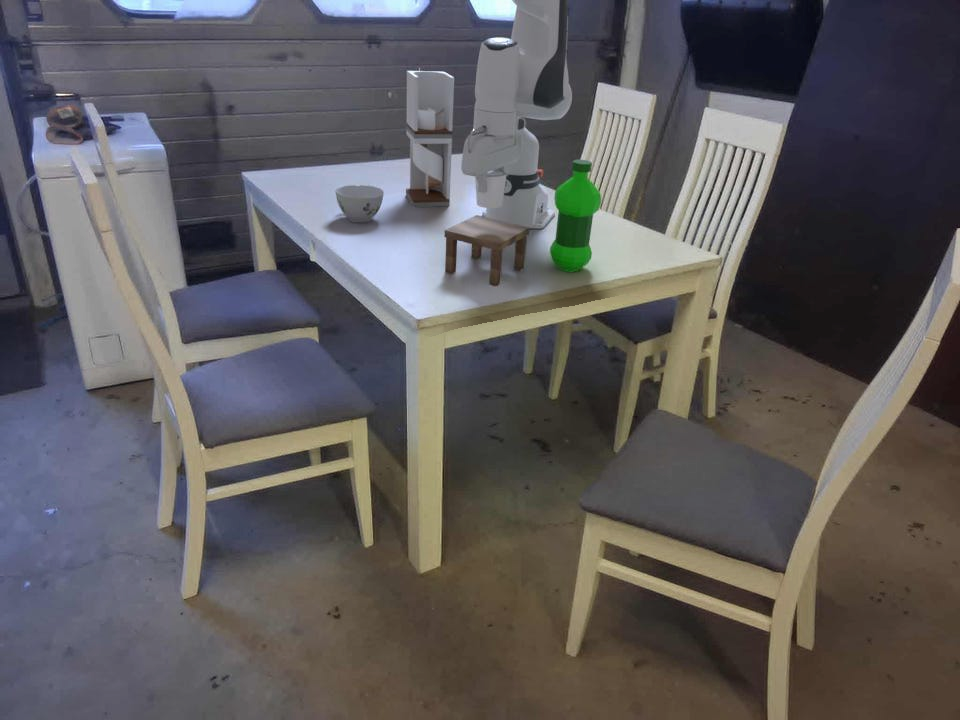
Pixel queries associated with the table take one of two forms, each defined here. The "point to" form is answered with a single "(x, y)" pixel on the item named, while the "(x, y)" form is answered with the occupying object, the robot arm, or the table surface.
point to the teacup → (359, 201)
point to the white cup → (492, 190)
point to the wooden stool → (486, 243)
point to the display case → (429, 136)
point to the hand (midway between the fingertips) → (490, 188)
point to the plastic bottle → (575, 218)
